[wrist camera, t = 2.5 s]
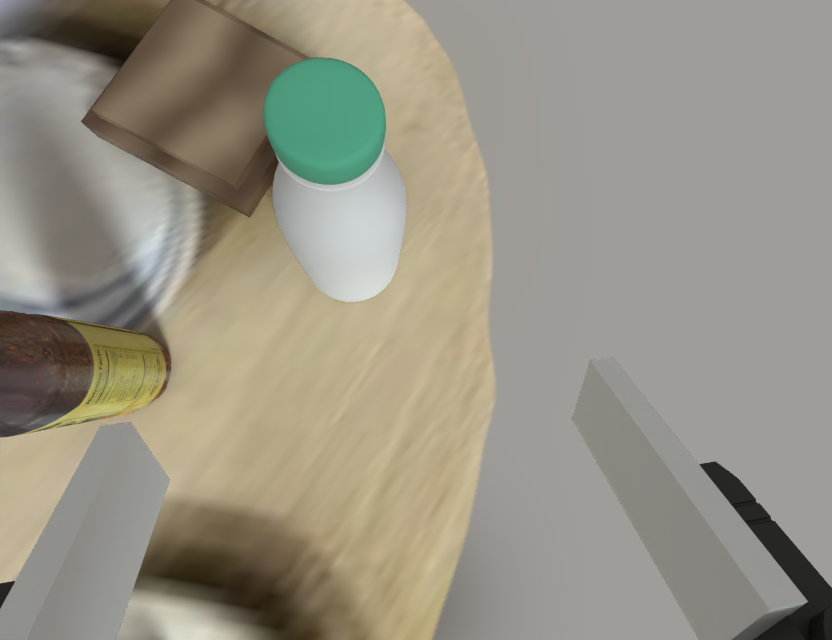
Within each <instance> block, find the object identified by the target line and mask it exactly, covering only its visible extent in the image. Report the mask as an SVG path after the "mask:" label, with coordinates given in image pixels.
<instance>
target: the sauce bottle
mask: <svg viewBox="0 0 832 640" xmlns="http://www.w3.org/2000/svg"><path fill="white" fill-rule="evenodd" d="M170 364H171V361H170V357H169V355H168V354H167V353H166V351H165V349H164V348H163V347H162V346H161V345H160V344H159V343H158V342H157V341H155V340H154V339H153V338H151V337H150V336H148V335H145V334H141V333H139V332H136V331H132V330H127V329H122V328H117V327H111V326H105V325H100V324H94V323H87V322H82V321H76V320H70V319H65V318H59V317H53V316H47V315H39V314H25V313H17V312H13V311H0V437H9V436H15V435H21V434H26V433H31V432H36V431H41V430H46V429H52V428H57V427H63V426H68V425H74V424H80V423H84V422H89V421H94V420H99V419H105V418H110V417H115V416H120V415H125V414H129V413H133V412H135V411H137V410H140V409H142V408H143V407H145V406H146V405H148V404H150V403H152V402H153V401H154V400H156V399H157V398H158V397H159V396H160V395H161V394H162V393H163V392H164V391H165V389H166V387H167V384H168V381H169V377H170V370H171V367H170Z"/></svg>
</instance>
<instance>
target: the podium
mask: <svg viewBox="0 0 832 640" xmlns="http://www.w3.org/2000/svg"><path fill="white" fill-rule="evenodd" d="M306 59H311V58H309V57H307V56H305V55H303V54H301V53H300V52H298V51H296V50H294V49H292V48H290V47H289V46H287V45H285V44H283V43H281V42H279V41H278V40H276V39H274V38H272V37H270V36H269V35H267V34H265V33H263V32H261V31H259V30H258V29H256V28H254V27H252V26H250V25H248V24H247V23H245V22H243V21H241V20H239V19H237V18H236V17H234V16H232V15H230V14H228V13H226V12H225V11H223V10H221V9H219V8H217V7H215V6H214V5H212V4H210V3H208V2H206V1H204V0H171V1H170V2H169V4H168V5H167V6H166V8H165V9H164V10H163V12H162V13H161V14H160V16H159V17H158V18H157V20H156V21H155V22H154V24H153V25H152V27H151V28H150V29H149V31H148V32H147V33H146V35H145V36H144V37H143V39H142V40H141V41H140V43H139V44H138V45H137V47H136V48H135V49H134V51H133V52H132V53H131V55H130V56H129V57H128V59H127V60H126V62H125V63H124V64H123V66H122V67H121V68H120V70H119V71H118V72H117V74H116V75H115V76H114V78H113V79H112V80H111V82H110V83H109V84H108V86H107V87H106V88H105V90H104V91H103V92H102V94H101V95H100V97H99V98H98V99H97V101H96V102H95V103H94V105H93V106H92V107H91V109H90V110H89V111H88V113H87V114H86V115H85V117H84V118H83V119H82V121H81V122H82V123H83V124H84V125H85V126H86V127H88V128H89V129H90V130H91V131H92V132H93V133H95V134H96V135H97V136H98V137H100V138H102V139H104V140H106V141H108V142H109V143H111V144H113V145H115V146H117V147H119V148H121V149H123V150H124V151H126V152H128V153H130V154H132V155H134V156H136V157H138V158H139V159H141V160H143V161H145V162H147V163H149V164H151V165H153V166H154V167H156V168H158V169H160V170H162V171H164V172H166V173H168V174H169V175H171V176H173V177H175V178H177V179H179V180H181V181H183V182H185V183H186V184H188V185H190V186H192V187H194V188H196V189H198V190H200V191H201V192H203V193H205V194H207V195H209V196H211V197H213V198H215V199H216V200H218V201H220V202H222V203H224V204H226V205H228V206H230V207H231V208H233V209H235V210H237V211H239V212H241V213H243V214H245V215H246V216H248V217H250V216H251V215H252V213H253V211H254V210H255V208H256V207H257V205H258V203H259V202H260V200H261V199H262V197H263V196H264V194H265V192H266V191H267V189H268V188H269V186H270V184H271V183H272V181H273V180H274V176H275V172H276V169H277V166H278V164H279V161H278V159H277V156H276V154H275V151H274V149H273V147H272V146H271V144H270V141H269V138H268V136H267V133H266V130H265V126H264V120H263V107H264V100H265V96H266V93H267V91H268V88H269V87H270V85H271V83H272V82H273V80H274V79H275V78H276V77H277V76H278V75H279V74H280V73H281V72H282V71H283V70H284V69H286V68H287V67H289V66H291V65H292V64H294V63H297V62H299V61H302V60H306Z"/></svg>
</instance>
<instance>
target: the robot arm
mask: <svg viewBox="0 0 832 640" xmlns="http://www.w3.org/2000/svg"><path fill="white" fill-rule="evenodd" d="M572 420H573V422H574V424H575V425H576V427H577V428H578V431H579V432H580V434H581V436H582V438H583V439H584V441H585V443H586V444H587V446H588V448H589V449H590V451H591V453H592V455H593V457H594V458H595V460H596V462H597V464H598V465H599V467H600V469H601V471H602V472H603V474H604V476H605V477H606V479H607V481H608V483H609V484H610V486H611V488H612V490H613V491H614V493H615V495H616V497H617V498H618V500H619V502H620V504H621V505H622V507H623V509H624V510H625V512H626V514H627V516H628V518H629V519H630V521H631V522H632V524H633V526H634V528H635V530H636V531H637V533H638V535H639V536H640V538H641V540H642V542H643V543H644V545H645V547H646V549H647V551H648V552H649V554H650V556H651V557H652V559H653V561H654V563H655V564H656V566H657V568H658V570H659V571H660V573H661V575H662V577H663V578H664V580H665V582H666V584H667V585H668V587H669V589H670V591H671V592H672V594H673V596H674V597H675V599H676V601H677V603H678V604H679V606H680V608H681V609H682V611H683V613H684V615H685V616H686V618H687V620H688V622H689V623H690V625H691V627H692V629H693V631H694V632H695V634H696V636H697V637H698V639H699V640H832V588H831V586H830V585H829V584H828V583H827V582H826V581H825V580H824V578H823V577H822V576H821V575H820V574H819V573H818V571H817V570H816V569H815V568H814V567H813V566H812V565H811V563H810V562H809V561H808V560H807V559H806V557H805V556H804V555H803V554H802V553H801V552H800V550H799V549H798V548H797V547H796V546H795V544H794V543H793V542H792V541H791V540H790V539H789V537H788V536H787V535H786V534H785V533H784V532H783V531H782V529H781V528H780V527H779V526H778V525H777V523H776V522H775V521H772V520H771V518H770V515H769V514H768V513H767V512H766V511H765V509H764V508H763V507H762V506H761V505H760V504H758V503H757V502H756V499H755V498H754V496H753V495H752V494H751V493H750V492H749V491H748V489H747V488H746V487H745V486H744V485H743V484H742V483H741V481H740V480H739V479H738V478H737V477H735V476H734V475H733V474H731V473H730V472H729V471H727V470H726V469H725V468H723V467H722V466H721V465H719V464H718V463H717V462H710V463H704V464H698V462H697V461H696V460H695V459H694V458H693V456H692V455H691V454H690V452H689V451H688V450H687V449H686V447H685V446H684V445H683V444H682V442H681V441H680V440H679V439H678V437H677V436H676V435H675V433H674V432H673V431H672V430H671V428H670V427H669V426H668V425H667V423H666V422H665V421H664V420H663V419H662V417H661V416H660V415H659V413H658V412H657V411H656V410H655V408H654V407H653V406H652V405H651V403H650V402H649V401H648V399H647V398H646V397H645V396H644V394H643V393H642V392H641V391H640V390H639V388H638V387H637V386H636V384H635V383H634V382H633V381H632V379H631V378H630V377H629V376H628V374H627V373H626V372H625V371H624V369H623V368H622V367H621V366H620V364H619V363H618V362H617V361H616V359H615V358H614V357H608V358H601V359H593V360H590V361H589V365H588V368H587V371H586V374H585V378H584V381H583V384H582V387H581V391H580V394H579V397H578V400H577V404H576V407H575V410H574V414H573V417H572ZM169 482H170V479H169V477H168V476H167V474H166V473H165V471H164V470H163V468H162V467H161V465H160V464H159V463H158V461H157V460H156V458H155V457H154V455H153V454H152V452H151V451H150V449H149V448H148V446H147V445H146V444H145V442H144V441H143V439H142V438H141V436H140V435H139V433H138V432H137V430H136V429H135V427H134V426H133V425H132V423H131V422H128V423H120V424H113V425H106V426H100V428H99V430H98V432H97V433H96V435H95V437H94V439H93V441H92V442H91V444H90V446H89V448H88V450H87V452H86V453H85V455H84V457H83V459H82V461H81V463H80V464H79V466H78V468H77V470H76V472H75V473H74V475H73V477H72V479H71V481H70V483H69V484H68V486H67V488H66V490H65V492H64V494H63V495H62V497H61V499H60V501H59V503H58V504H57V506H56V508H55V510H54V512H53V514H52V515H51V517H50V519H49V521H48V523H47V525H46V526H45V528H44V530H43V532H42V534H41V535H40V537H39V539H38V541H37V543H36V545H35V546H34V548H33V550H32V552H31V554H30V556H29V557H28V559H27V561H26V563H25V565H24V566H23V568H22V570H21V572H20V574H19V576H18V577H17V579H16V581H12V582H7V583H1V584H0V640H116V637H117V634H118V631H119V628H120V626H121V623H122V620H123V617H124V614H125V611H126V608H127V605H128V602H129V599H130V596H131V593H132V590H133V587H134V584H135V581H136V579H137V576H138V573H139V570H140V567H141V564H142V561H143V558H144V555H145V552H146V549H147V546H148V543H149V540H150V537H151V534H152V532H153V529H154V526H155V523H156V520H157V517H158V514H159V511H160V508H161V505H162V502H163V499H164V496H165V493H166V490H167V487H168V485H169Z"/></svg>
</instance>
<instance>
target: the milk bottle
mask: <svg viewBox="0 0 832 640" xmlns="http://www.w3.org/2000/svg"><path fill="white" fill-rule="evenodd" d="M263 120H264V126H265V130H266V133H267V136H268V138H269V141H270V144H271V146H272V147H273V149H274V151H275V154H276V156H277V159H278V161H279V164H278V166H277V169H276V172H275V176H274V181H273V189H272V198H273V208H274V213H275V216H276V220H277V223H278V226H279V228H280V230H281V232H282V234H283V236H284V238H285V240H286V242H287V244H288V246H289V247H290V249H291V251H292V252H293V254H294V256H295V257H296V259H297V260H298V262H299V263H300V265H301V267H302V268H303V270H304V271H305V273H306V274H307V276H308V277H309V279H310V280H311V281H312V283H313V284H314V285H315V286H316V287H317V288H318V289H319V290H320V291H321V292H322V293H324V294H325V295H327V296H329V297H331V298H333V299H336V300H339V301H345V302H358V301H363V300H366V299H369V298H371V297H373V296H375V295H377V294H378V293H380V292H381V291H382V290H383V289H384V288H385V287H386V286H387V285H388V284H389V282H390V281H391V279H392V278H393V275H394V273H395V270H396V267H397V264H398V259H399V255H400V250H401V245H402V240H403V235H404V229H405V222H406V212H407V201H406V191H405V186H404V183H403V179H402V177H401V174H400V171H399V169H398V167H397V165H396V164H395V162H394V160H393V159H392V157H391V156H390V154H389V153H388V152H387V151H386V150H385V149H384V147H385V130H386V118H385V109H384V105H383V101H382V99H381V96H380V94H379V92H378V90H377V88H376V86H375V85H374V84H373V82H372V81H371V80H370V79H369V78H368V77H367V76H366V75H365V74H364V73H363V72H362V71H361V70H359V69H358V68H356V67H354V66H353V65H351V64H349V63H346V62H344V61H341V60H337V59H332V58H311V59H306V60H302V61H299V62H297V63H294V64H292V65H291V66H289V67H287V68H286V69H284V70H283V71H282V72H281V73H280V74H279V75H278V76H277V77H276V78H275V79H274V80H273V82H272V83H271V85H270V87H269V88H268V91H267V93H266V96H265V100H264V107H263Z"/></svg>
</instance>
